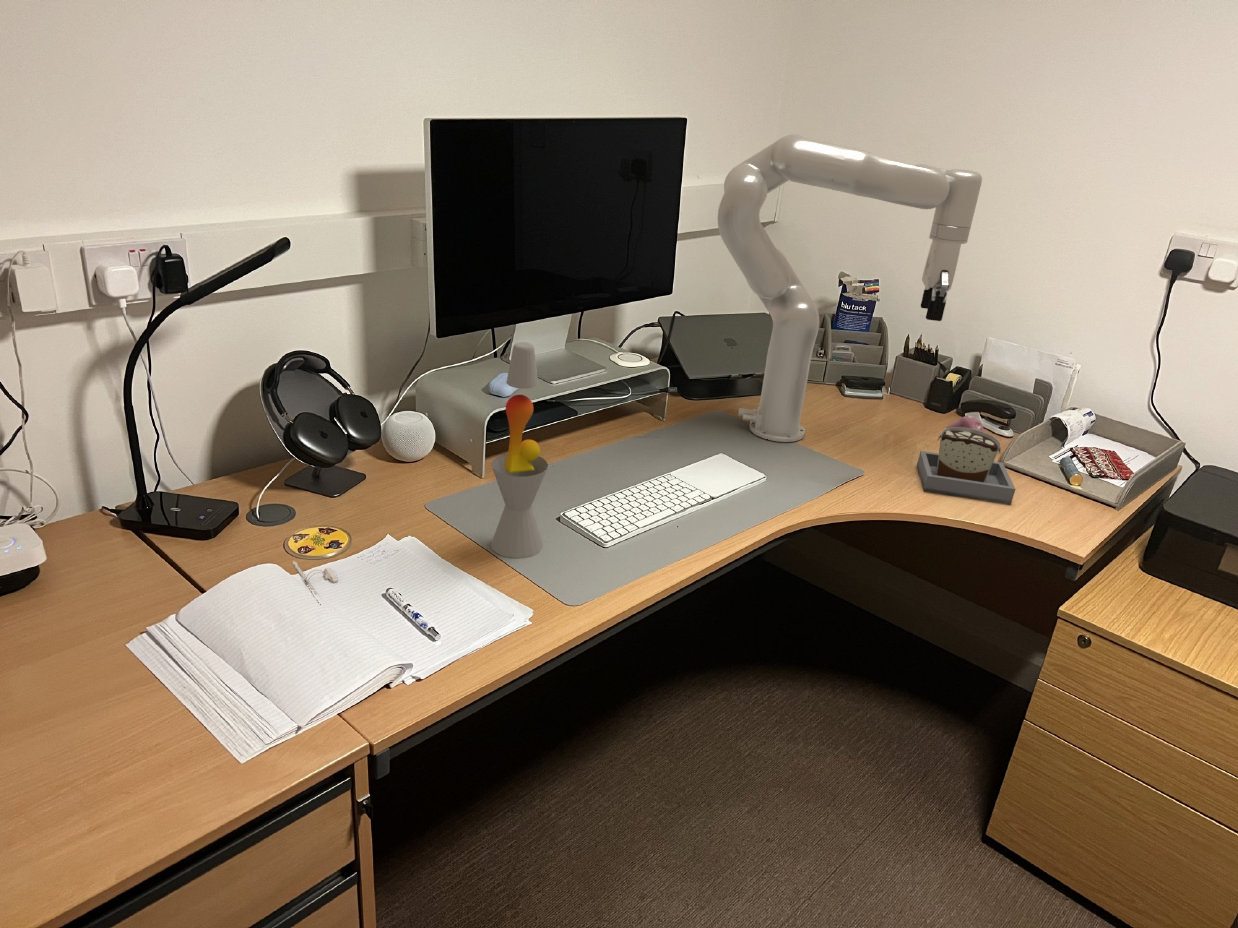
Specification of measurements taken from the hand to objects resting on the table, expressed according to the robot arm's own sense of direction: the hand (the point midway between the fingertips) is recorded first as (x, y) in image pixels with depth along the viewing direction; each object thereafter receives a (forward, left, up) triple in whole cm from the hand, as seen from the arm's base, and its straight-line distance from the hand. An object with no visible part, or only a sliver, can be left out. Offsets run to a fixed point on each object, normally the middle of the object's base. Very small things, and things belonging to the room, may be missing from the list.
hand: (930, 314), depth 188 cm
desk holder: (+11, -18, -30) cm, 37 cm away
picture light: (-94, -90, -31) cm, 134 cm away
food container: (+11, -16, -30) cm, 35 cm away
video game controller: (+15, +7, -31) cm, 35 cm away
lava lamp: (-69, -71, -31) cm, 104 cm away
